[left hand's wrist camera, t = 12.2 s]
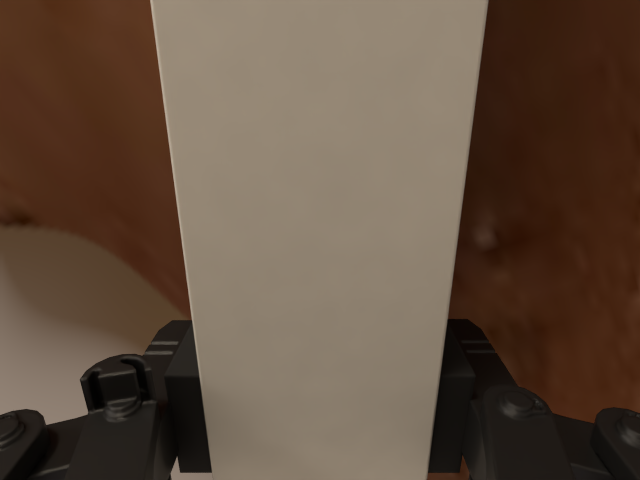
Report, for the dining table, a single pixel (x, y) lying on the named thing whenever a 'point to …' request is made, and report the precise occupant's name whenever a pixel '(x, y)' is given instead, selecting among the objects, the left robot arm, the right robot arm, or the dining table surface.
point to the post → (319, 221)
